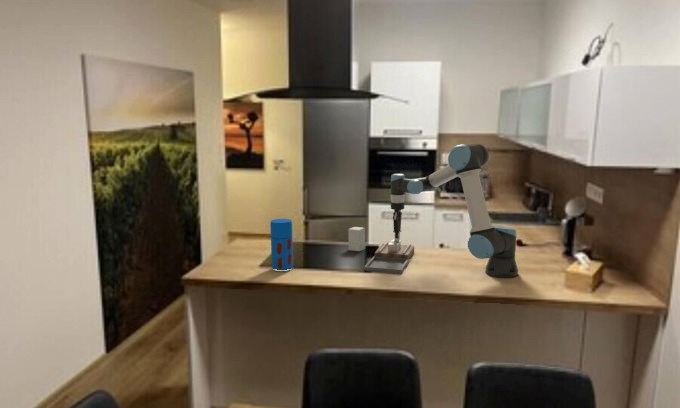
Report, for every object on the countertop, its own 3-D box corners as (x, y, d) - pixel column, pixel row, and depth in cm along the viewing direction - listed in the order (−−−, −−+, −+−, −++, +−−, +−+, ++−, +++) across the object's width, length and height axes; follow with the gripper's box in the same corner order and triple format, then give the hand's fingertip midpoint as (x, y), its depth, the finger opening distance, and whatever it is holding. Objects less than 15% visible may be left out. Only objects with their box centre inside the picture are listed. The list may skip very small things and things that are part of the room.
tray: (408, 262, 264) (408, 259, 263) (401, 273, 245) (401, 270, 244) (373, 259, 269) (373, 256, 269) (363, 270, 250) (363, 266, 250)
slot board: (414, 252, 283) (414, 244, 282) (407, 262, 264) (408, 253, 263) (382, 250, 288) (383, 241, 287) (374, 259, 270) (374, 250, 269)
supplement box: (365, 248, 292) (365, 227, 290) (359, 251, 286) (359, 230, 284) (354, 247, 296) (354, 226, 294) (348, 250, 290) (348, 228, 288)
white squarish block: (401, 247, 279) (401, 240, 279) (399, 249, 275) (399, 242, 274) (392, 246, 281) (392, 239, 280) (390, 248, 276) (390, 241, 275)
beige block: (398, 250, 273) (399, 242, 273) (397, 252, 269) (397, 245, 268) (389, 249, 275) (390, 242, 274) (388, 251, 270) (388, 244, 269)
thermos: (297, 268, 255) (296, 220, 251) (281, 273, 247) (280, 223, 243) (283, 264, 262) (282, 217, 258) (267, 269, 254) (265, 220, 250)
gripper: (393, 199, 284) (393, 240, 288) (388, 203, 271) (388, 245, 276) (406, 200, 281) (405, 241, 285) (402, 204, 269) (401, 246, 273)
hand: (397, 243), depth 280 cm, fingers closed
